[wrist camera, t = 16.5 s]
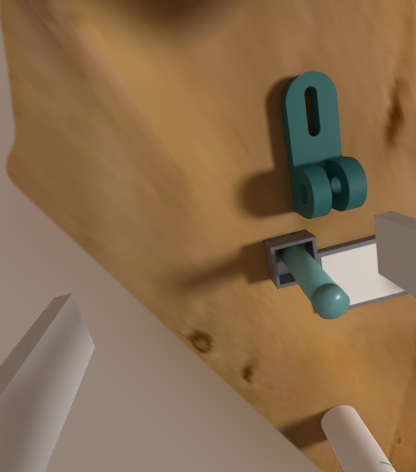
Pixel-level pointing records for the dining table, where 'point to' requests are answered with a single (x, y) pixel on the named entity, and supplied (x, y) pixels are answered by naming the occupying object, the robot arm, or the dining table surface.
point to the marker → (315, 282)
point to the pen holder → (276, 266)
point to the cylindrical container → (353, 441)
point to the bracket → (318, 150)
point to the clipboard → (358, 272)
